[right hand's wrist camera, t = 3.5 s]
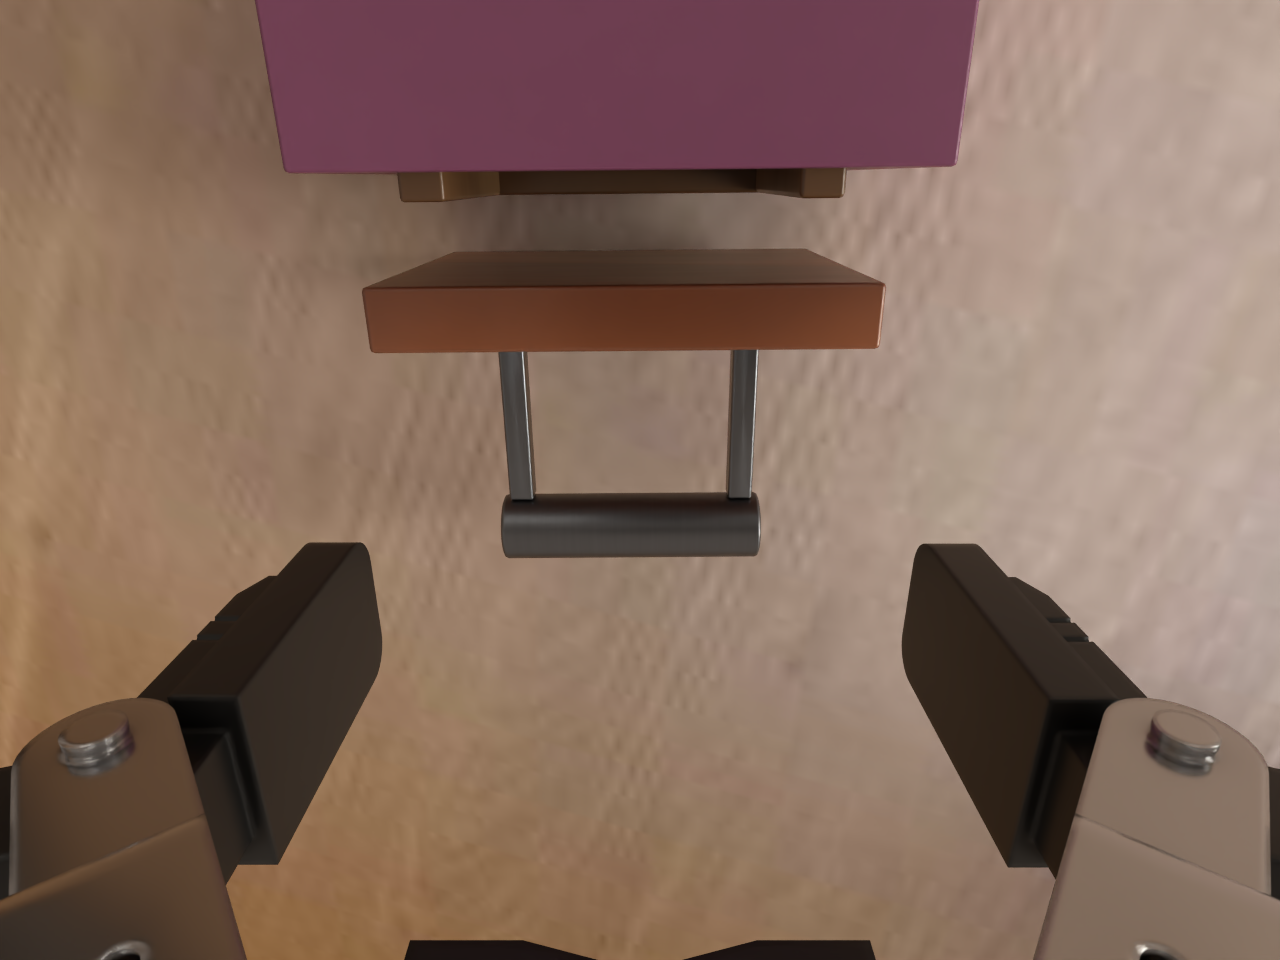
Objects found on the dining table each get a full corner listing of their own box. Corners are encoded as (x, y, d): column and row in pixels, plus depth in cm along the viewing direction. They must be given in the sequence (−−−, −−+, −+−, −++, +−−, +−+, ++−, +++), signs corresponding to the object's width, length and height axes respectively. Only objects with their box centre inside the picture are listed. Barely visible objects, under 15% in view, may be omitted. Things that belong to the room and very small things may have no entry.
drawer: (789, 505, 23) (848, 637, 16) (476, 507, 23) (410, 640, 16) (875, -718, 14) (1088, -1534, 7) (356, -710, 14) (99, -1511, 7)
